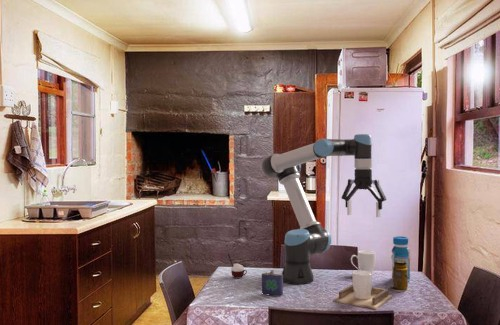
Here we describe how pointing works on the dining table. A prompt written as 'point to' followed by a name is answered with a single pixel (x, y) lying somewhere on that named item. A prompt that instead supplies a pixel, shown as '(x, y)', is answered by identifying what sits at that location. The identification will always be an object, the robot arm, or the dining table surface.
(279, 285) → the flask
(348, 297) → the dock
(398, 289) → the condiment
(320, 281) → the dining table surface
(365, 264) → the mug
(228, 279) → the dining table surface
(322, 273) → the dining table surface
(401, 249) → the beverage bottle
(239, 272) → the cocoa
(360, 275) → the white cup
